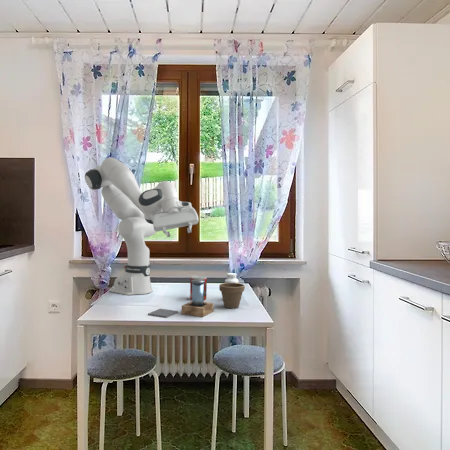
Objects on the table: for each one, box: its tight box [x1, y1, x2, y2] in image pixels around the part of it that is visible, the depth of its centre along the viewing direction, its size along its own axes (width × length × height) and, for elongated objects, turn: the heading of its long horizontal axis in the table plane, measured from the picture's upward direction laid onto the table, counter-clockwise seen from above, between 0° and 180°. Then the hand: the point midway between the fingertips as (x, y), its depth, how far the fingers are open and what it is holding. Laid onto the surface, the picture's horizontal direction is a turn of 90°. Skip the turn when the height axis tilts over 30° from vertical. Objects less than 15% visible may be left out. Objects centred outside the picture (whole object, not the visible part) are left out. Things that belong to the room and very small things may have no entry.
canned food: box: [189, 275, 208, 301], centre depth 194 cm, size 8×8×11 cm
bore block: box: [181, 300, 214, 318], centre depth 169 cm, size 10×10×4 cm
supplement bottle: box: [224, 272, 240, 284], centre depth 193 cm, size 7×7×13 cm
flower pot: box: [218, 282, 246, 309], centre depth 180 cm, size 12×11×10 cm
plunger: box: [191, 279, 205, 307], centre depth 169 cm, size 6×6×14 cm
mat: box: [147, 308, 179, 319], centre depth 167 cm, size 9×9×1 cm
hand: (179, 234), depth 173 cm, fingers open, 8 cm apart
